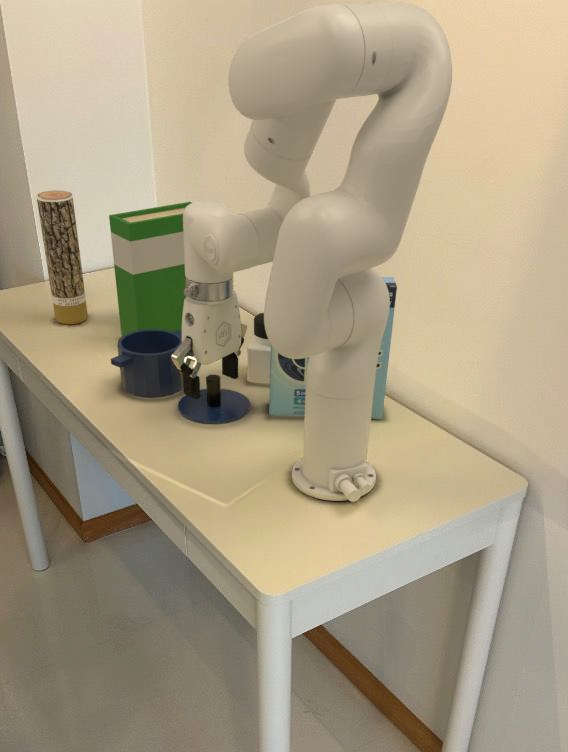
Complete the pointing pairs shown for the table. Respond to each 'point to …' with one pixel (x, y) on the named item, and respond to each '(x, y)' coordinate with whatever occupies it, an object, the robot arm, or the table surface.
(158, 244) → the hardback book
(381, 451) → the table surface
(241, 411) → the lid
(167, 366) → the pot
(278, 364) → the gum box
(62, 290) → the paper tube
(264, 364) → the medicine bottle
